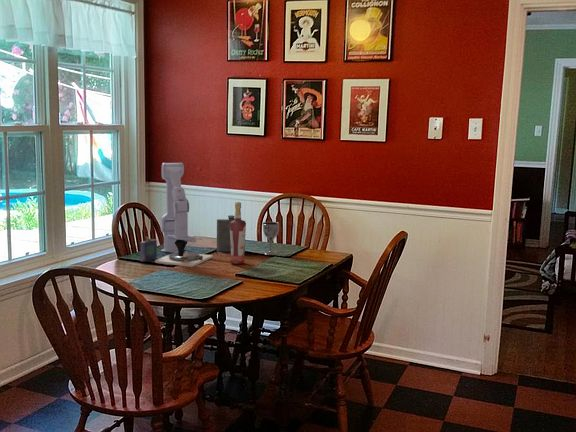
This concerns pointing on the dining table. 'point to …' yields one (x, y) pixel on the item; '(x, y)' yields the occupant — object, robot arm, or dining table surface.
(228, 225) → the flask
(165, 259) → the base board
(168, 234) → the robot arm
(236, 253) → the liquor
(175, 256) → the flange plate
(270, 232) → the wine glass
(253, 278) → the dining table surface
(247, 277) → the dining table surface
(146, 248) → the blue grey box
